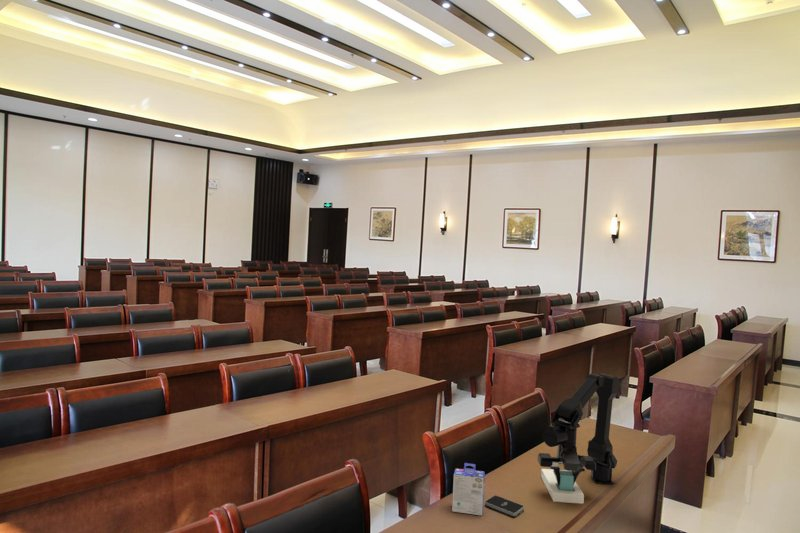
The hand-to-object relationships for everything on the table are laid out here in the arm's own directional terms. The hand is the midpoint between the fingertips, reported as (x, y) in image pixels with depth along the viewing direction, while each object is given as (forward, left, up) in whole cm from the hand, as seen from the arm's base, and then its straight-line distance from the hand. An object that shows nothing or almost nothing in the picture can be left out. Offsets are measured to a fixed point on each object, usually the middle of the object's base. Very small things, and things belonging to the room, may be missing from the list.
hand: (565, 485), depth 177 cm
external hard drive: (+23, +13, -4) cm, 26 cm away
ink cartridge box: (+35, +16, -4) cm, 38 cm away
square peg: (0, 0, -2) cm, 2 cm away
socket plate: (0, -5, -4) cm, 6 cm away
